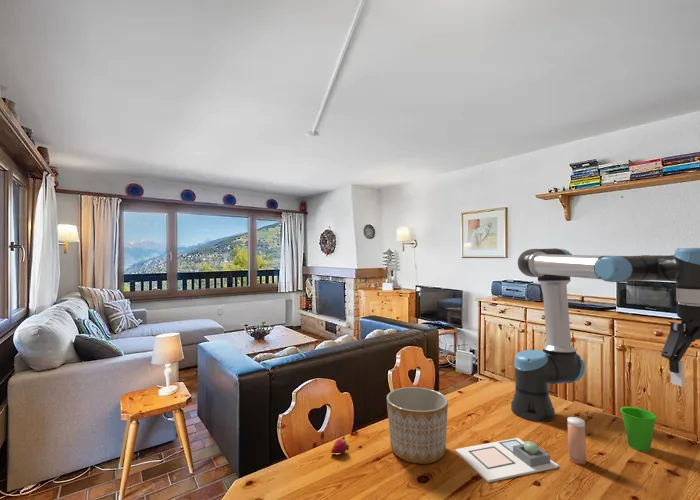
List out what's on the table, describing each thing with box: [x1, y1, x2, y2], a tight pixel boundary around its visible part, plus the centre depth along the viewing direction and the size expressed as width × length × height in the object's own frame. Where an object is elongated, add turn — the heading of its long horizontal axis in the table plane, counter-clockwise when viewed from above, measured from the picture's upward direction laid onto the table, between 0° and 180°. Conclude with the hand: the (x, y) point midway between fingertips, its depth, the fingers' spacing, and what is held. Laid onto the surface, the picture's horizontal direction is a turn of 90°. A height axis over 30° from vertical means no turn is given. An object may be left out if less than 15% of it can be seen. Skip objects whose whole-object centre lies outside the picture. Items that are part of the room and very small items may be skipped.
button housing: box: [513, 444, 551, 467], centre depth 103 cm, size 7×7×2 cm
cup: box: [619, 406, 658, 453], centre depth 109 cm, size 9×9×11 cm
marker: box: [566, 416, 587, 466], centre depth 102 cm, size 4×4×12 cm
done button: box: [524, 440, 539, 456], centre depth 103 cm, size 4×4×2 cm
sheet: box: [454, 437, 560, 483], centre depth 104 cm, size 16×24×1 cm, turn 105°
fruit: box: [330, 436, 350, 454], centre depth 108 cm, size 4×6×5 cm
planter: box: [386, 386, 449, 465], centre depth 109 cm, size 19×19×16 cm
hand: (698, 383), depth 92 cm, fingers open, 13 cm apart
